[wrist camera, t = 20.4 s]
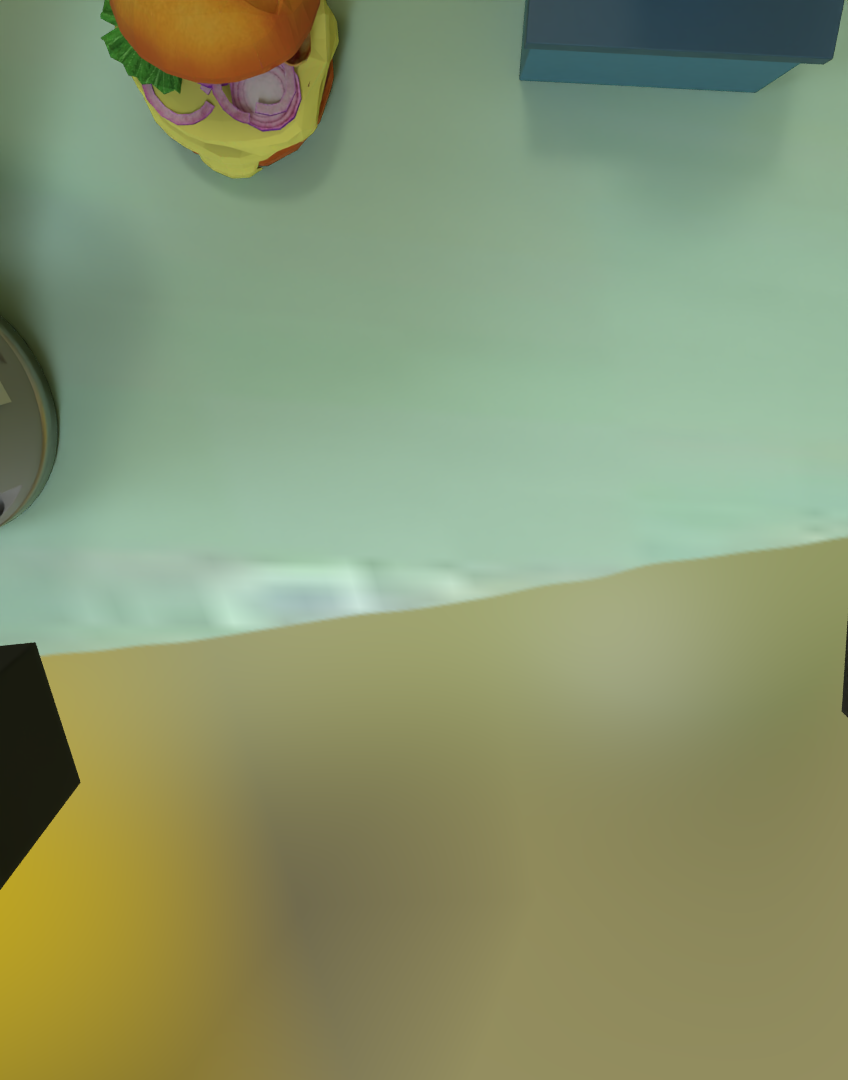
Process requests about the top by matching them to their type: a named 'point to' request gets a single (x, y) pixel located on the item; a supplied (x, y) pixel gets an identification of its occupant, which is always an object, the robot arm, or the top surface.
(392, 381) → the top surface
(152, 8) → the cheeseburger
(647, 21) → the container
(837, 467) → the top surface
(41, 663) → the robot arm
